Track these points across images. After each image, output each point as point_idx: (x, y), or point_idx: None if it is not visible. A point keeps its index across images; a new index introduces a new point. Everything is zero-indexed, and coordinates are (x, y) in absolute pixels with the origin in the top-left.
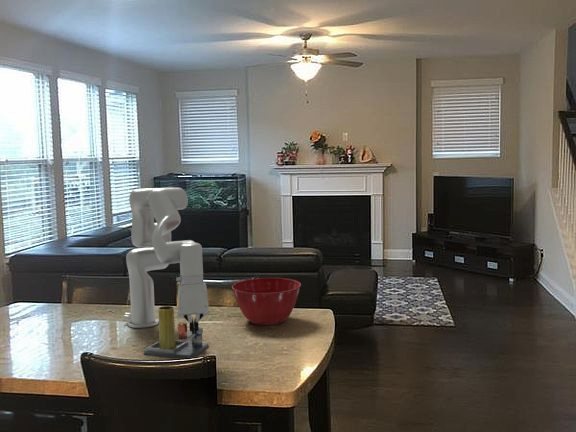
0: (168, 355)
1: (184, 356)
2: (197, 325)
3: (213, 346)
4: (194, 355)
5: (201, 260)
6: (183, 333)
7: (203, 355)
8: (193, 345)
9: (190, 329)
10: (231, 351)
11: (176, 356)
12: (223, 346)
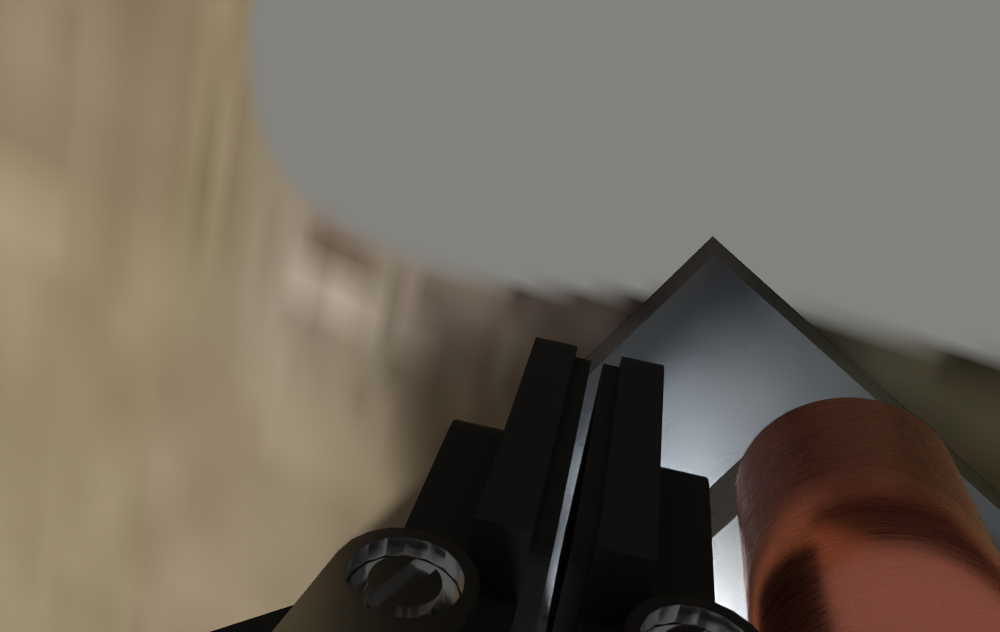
0: (994, 494)
1: (784, 312)
2: (451, 503)
3: (273, 580)
4: (603, 344)
5: None
6: (891, 479)
7: (472, 301)
8: (539, 628)
9: (689, 490)
10: (68, 282)
11: (890, 400)
12: (151, 520)
